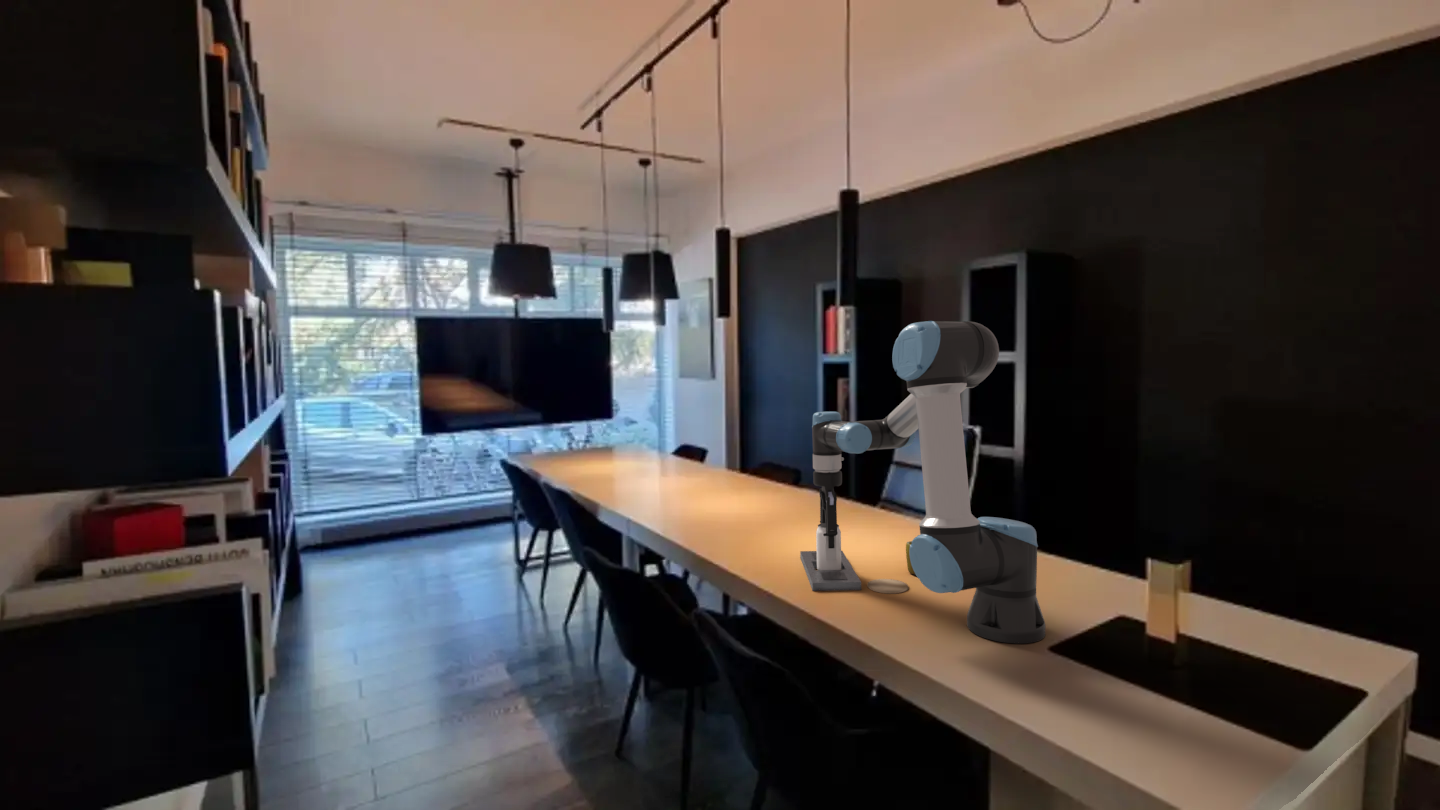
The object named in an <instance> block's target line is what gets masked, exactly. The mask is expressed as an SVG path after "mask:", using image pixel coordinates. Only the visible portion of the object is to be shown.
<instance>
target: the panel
mask: <svg viewBox="0 0 1440 810" xmlns="http://www.w3.org/2000/svg"><path fill="white" fill-rule="evenodd" d="M799 552H800V553H799V554H800V555H799V556H800V561H801V564H802V567H803V568H804V571H805V573H806V577H807V579H808V582H809V585H810V588H811V590H812V592H822V591H823V592H824V591H827V592H828V591H831V592H832V591H862V581H861V580H860V577H859V576H858V574H857V572H856V571H855V570H854V567H853V566H852V564H851V562H850V561H849V560H848V558H847V556H846V554H845V553H844V551H843V550H841V570H818V569H817V550H802V551H799ZM816 569H817V570H816Z"/></svg>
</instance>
